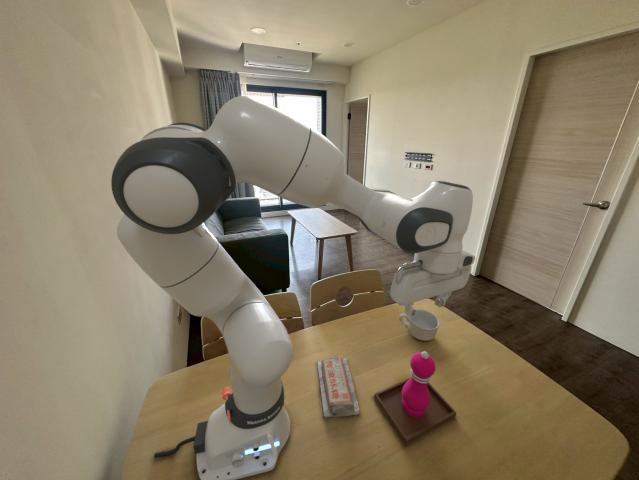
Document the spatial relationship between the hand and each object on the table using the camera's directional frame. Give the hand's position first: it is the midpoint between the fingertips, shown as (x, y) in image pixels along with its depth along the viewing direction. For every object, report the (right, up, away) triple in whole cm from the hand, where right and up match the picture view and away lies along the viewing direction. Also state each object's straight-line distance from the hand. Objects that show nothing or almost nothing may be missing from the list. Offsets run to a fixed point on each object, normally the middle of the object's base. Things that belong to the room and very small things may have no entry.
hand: (424, 309), depth 60 cm
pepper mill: (+1, -30, +11) cm, 32 cm away
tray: (+1, -30, +11) cm, 32 cm away
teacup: (+13, -20, +38) cm, 44 cm away
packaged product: (-20, -28, +16) cm, 38 cm away
